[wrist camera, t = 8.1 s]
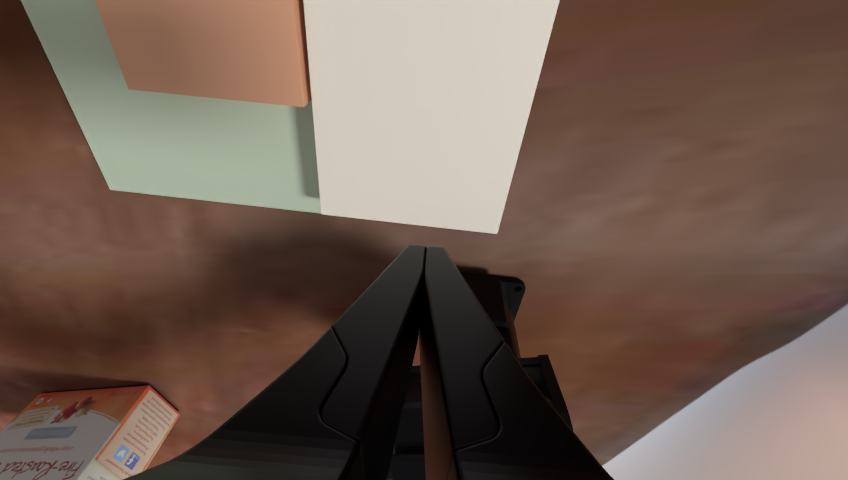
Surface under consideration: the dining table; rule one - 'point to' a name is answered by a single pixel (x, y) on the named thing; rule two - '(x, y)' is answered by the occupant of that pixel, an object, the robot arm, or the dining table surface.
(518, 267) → the dining table surface
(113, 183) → the mat
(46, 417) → the cracker box
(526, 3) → the deck
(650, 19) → the dining table surface
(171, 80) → the tile
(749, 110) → the dining table surface
